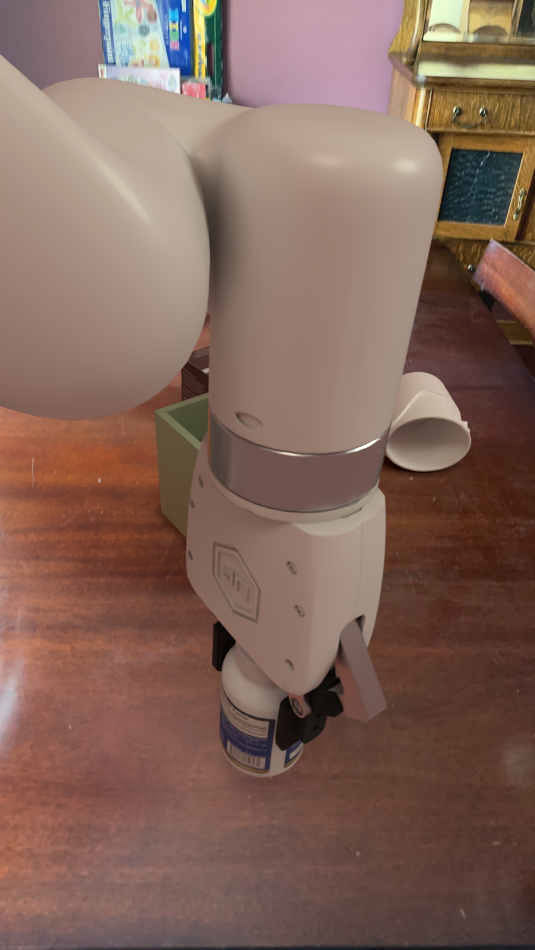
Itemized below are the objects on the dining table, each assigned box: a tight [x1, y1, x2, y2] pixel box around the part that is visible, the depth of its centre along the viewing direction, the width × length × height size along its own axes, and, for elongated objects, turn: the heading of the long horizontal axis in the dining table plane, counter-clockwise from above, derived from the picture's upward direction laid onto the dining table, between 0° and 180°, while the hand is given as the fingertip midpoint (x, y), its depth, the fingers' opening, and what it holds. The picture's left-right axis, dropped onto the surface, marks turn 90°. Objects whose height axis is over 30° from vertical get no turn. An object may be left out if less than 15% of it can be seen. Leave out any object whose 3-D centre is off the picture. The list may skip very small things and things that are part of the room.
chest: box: [153, 392, 209, 540], centre depth 65 cm, size 16×14×12 cm
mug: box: [384, 371, 472, 472], centre depth 78 cm, size 12×9×8 cm
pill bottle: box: [218, 641, 305, 778], centre depth 39 cm, size 5×5×10 cm
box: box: [180, 345, 210, 401], centre depth 83 cm, size 6×6×7 cm
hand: (266, 692), depth 39 cm, fingers closed on pill bottle, 5 cm apart
